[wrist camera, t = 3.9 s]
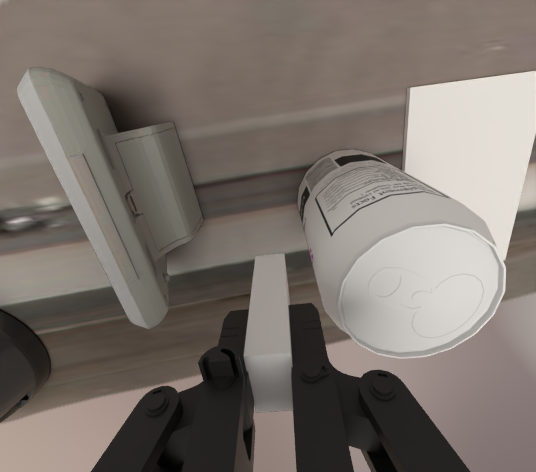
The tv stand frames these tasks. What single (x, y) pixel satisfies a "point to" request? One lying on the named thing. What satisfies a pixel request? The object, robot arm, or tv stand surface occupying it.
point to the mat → (474, 144)
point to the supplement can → (397, 257)
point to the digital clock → (116, 186)
